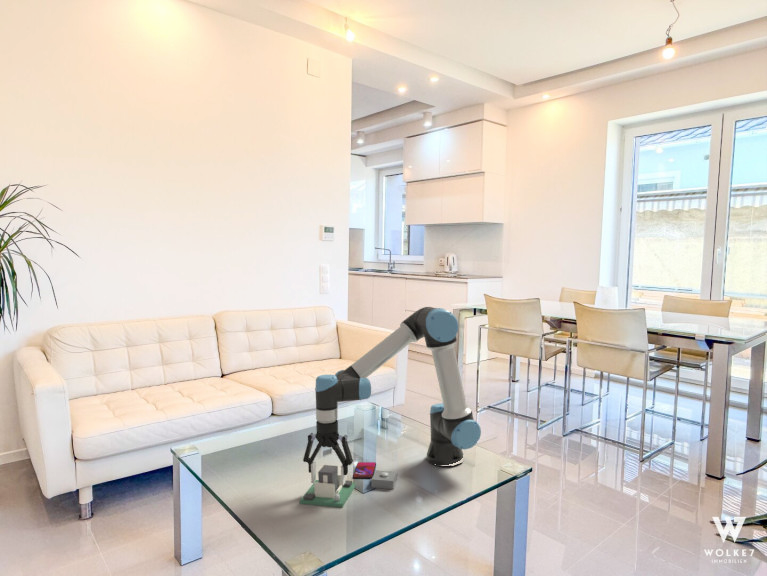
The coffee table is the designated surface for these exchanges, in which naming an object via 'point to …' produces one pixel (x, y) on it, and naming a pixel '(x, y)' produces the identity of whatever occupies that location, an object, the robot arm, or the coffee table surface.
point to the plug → (329, 475)
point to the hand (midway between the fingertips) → (328, 482)
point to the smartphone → (364, 470)
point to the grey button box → (384, 479)
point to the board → (328, 494)
